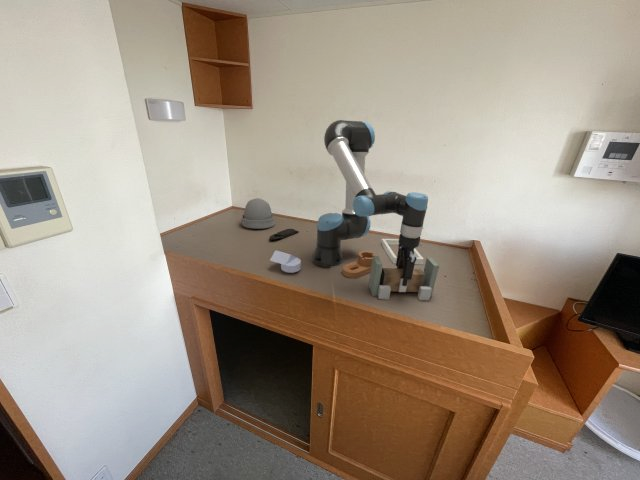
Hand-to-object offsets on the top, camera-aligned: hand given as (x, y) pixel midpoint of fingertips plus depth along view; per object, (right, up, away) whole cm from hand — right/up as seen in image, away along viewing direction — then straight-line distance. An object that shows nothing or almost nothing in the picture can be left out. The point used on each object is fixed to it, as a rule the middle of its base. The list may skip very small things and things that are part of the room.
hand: (400, 287), depth 110 cm
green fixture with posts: (0, -2, +1) cm, 2 cm away
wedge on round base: (-54, +12, +16) cm, 57 cm away
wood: (-59, +21, +51) cm, 81 cm away
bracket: (-15, +5, +15) cm, 22 cm away
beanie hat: (-74, +25, +62) cm, 99 cm away
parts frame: (+11, +12, +35) cm, 39 cm away
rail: (0, 0, 0) cm, 0 cm away
